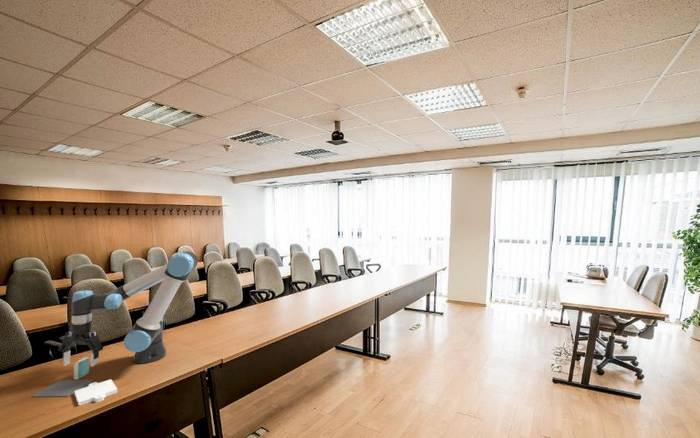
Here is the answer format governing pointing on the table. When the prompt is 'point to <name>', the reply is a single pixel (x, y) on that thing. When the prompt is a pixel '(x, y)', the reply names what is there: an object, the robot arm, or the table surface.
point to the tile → (81, 368)
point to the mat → (63, 388)
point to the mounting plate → (95, 392)
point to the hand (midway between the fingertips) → (80, 364)
